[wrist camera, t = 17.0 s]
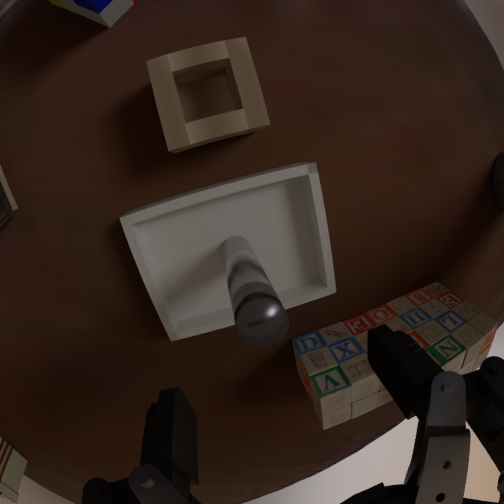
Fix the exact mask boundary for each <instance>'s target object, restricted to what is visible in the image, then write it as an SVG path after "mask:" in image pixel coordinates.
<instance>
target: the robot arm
mask: <svg viewBox="0 0 504 504" xmlns="http://www.w3.org/2000/svg"><path fill="white" fill-rule="evenodd" d="M493 190H494V196H495V200H496V202H497V205H498V206H499V207H500V208H502V209H504V152H502V153H500V155H499V156H498V158H497V160H496V163H495V167H494V174H493ZM367 358H368V362H369V365H370V367H371V368H372V370H373V371H374V373H375V374H376V375H377V377H378V378H379V380H380V381H381V382H382V384H383V385H384V387H385V388H386V390H387V391H388V392H389V394H390V395H391V397H392V398H393V399H394V401H395V402H396V404H397V405H398V407H399V408H400V410H401V411H402V412H403V414H404V415H405V417H406V418H407V420H409V419H410V418H412V417H414V416H417V418H418V419H419V422H418V427H417V434H416V439H415V444H414V449H413V454H412V459H411V463H410V465H409V468H408V471H407V474H406V477H405V481H404V484H400V485H390V486H384V484H383V482H382V483H380V484H378V485H375V486H373V487H371V488H369V489H367V490H365V491H362V492H360V493H357V494H355V495H353V496H351V497H350V498H348V499H347V500H345V501H344V502H342V503H340V504H504V360H503V359H502V358H500V357H497V356H492V357H488V358H486V359H485V360H484V361H483V362H482V364H481V366H480V369H479V370H475V371H472V372H469V373H466V374H463V375H460V374H458V373H457V372H453V371H444V370H443V369H442V368H441V367H440V366H439V365H438V364H437V363H436V362H435V361H434V360H433V359H432V358H431V357H430V356H429V355H428V353H427V352H426V351H425V350H424V349H422V347H421V346H420V345H419V344H418V343H416V341H415V340H414V339H413V338H412V337H411V336H410V335H409V334H407V333H404V332H402V331H400V330H397V331H395V332H393V331H392V330H391V329H390V328H389V327H388V326H387V325H386V324H382V325H379V326H377V327H375V328H372V329H370V330H368V333H367ZM466 421H467V423H468V424H469V426H470V427H471V429H472V430H473V431H474V433H475V434H476V436H477V437H478V439H479V440H480V442H481V443H482V445H483V446H484V448H485V449H486V451H487V452H488V454H489V455H490V457H491V459H492V460H493V462H494V463H495V465H496V467H497V468H498V470H499V471H500V473H501V474H500V476H499V480H498V486H497V489H498V491H499V492H500V499H499V502H498V503H495V502H488V501H481V500H474V499H468V498H463V496H464V490H465V484H466V478H467V470H468V462H469V452H470V430H469V429H466V423H465V422H466ZM145 424H146V425H145V429H144V432H145V433H144V436H143V444H142V452H141V461H140V465H139V466H138V467H136V468H135V469H133V470H132V472H131V473H130V475H129V477H128V478H125V479H122V480H118V481H115V482H111V483H109V482H108V481H106V480H105V479H103V478H93V479H90V480H89V481H88V482H87V483H86V484H85V486H84V488H83V495H82V504H201V503H200V502H199V501H198V500H197V499H196V498H195V497H194V496H193V495H192V494H191V493H190V485H199V479H198V458H197V425H196V416H195V412H194V410H193V408H192V406H191V405H190V403H189V402H188V400H187V399H186V397H185V396H184V394H183V392H182V391H181V389H180V388H179V387H174V388H169V389H163V390H160V393H159V400H158V403H152V405H151V407H150V408H149V410H148V412H147V415H146V422H145Z"/></svg>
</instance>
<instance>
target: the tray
mask: <svg viewBox="0 0 504 504" xmlns="http://www.w3.org/2000/svg"><path fill="white" fill-rule="evenodd" d="M120 221H121V224H122V227H123V230H124V233H125V235H126V238H127V241H128V244H129V246H130V249H131V251H132V254H133V257H134V259H135V262H136V264H137V267H138V269H139V272H140V274H141V277H142V279H143V281H144V284H145V286H146V288H147V291H148V293H149V295H150V297H151V300H152V302H153V304H154V306H155V309H156V311H157V313H158V315H159V317H160V319H161V321H162V324H163V326H164V328H165V330H166V332H167V334H168V336H169V338H170V340H171V341H174V340H178V339H183V338H187V337H191V336H195V335H198V334H202V333H206V332H210V331H214V330H217V329H221V328H225V327H228V326H232V325H235V321H234V316H233V311H232V305H231V300H230V295H229V290H228V285H227V280H226V274H225V269H224V263H223V258H222V252H221V248H222V245H223V243H224V241H225V240H226V239H228V238H229V237H231V236H242V237H244V238H246V239H247V240H248V241H249V243H250V245H251V247H252V249H253V250H254V252H255V254H256V256H257V258H258V260H259V262H260V264H261V266H262V267H263V269H264V271H265V273H266V275H267V277H268V279H269V281H270V282H271V284H272V286H273V288H274V290H275V292H276V294H277V296H278V298H279V299H280V301H281V303H282V305H283V307H284V309H288V308H291V307H295V306H298V305H301V304H304V303H307V302H310V301H313V300H316V299H319V298H321V297H324V296H327V295H330V294H333V293H336V286H335V277H334V269H333V261H332V254H331V246H330V240H329V233H328V226H327V220H326V214H325V208H324V203H323V197H322V191H321V186H320V181H319V176H318V171H317V166H316V162H301V163H296V164H292V165H287V166H283V167H279V168H275V169H270V170H266V171H262V172H258V173H254V174H250V175H246V176H242V177H239V178H235V179H231V180H227V181H224V182H220V183H217V184H213V185H210V186H206V187H203V188H199V189H196V190H193V191H189V192H186V193H183V194H180V195H176V196H173V197H170V198H167V199H164V200H161V201H158V202H155V203H152V204H149V205H146V206H143V207H140V208H137V209H134V210H131V211H129V212H127V213H126V214H124V215H123V216H122V217H120Z"/></svg>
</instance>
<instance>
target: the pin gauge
mask: <svg viewBox="0 0 504 504" xmlns="http://www.w3.org/2000/svg"><path fill="white" fill-rule="evenodd" d="M221 252H222V258H223V263H224V269H225V274H226V280H227V285H228V290H229V295H230V300H231V305H232V311H233V316H234V321H235V325H236V330H237V335H238V337H239V338H240V340H241V341H242V342H243V343H244V344H246V345H248V346H250V347H254V348H265V347H269V346H272V345H274V344H276V343H278V342H279V341H280V340H281V339H283V337H284V336H285V335H286V333H287V331H288V329H289V324H290V321H289V317H288V315H287V313H286V311H285V309H284V307H283V305H282V303H281V301H280V299H279V298H278V296H277V294H276V292H275V290H274V288H273V286H272V284H271V282H270V281H269V279H268V277H267V275H266V273H265V271H264V269H263V267H262V266H261V264H260V262H259V260H258V258H257V256H256V254H255V252H254V250H253V249H252V247H251V245H250V243H249V241H248V240H247V239H246V238H244V237H242V236H231V237H229V238H228V239H226V240H225V241H224V243H223V245H222V248H221Z"/></svg>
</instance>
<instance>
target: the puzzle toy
mask: <svg viewBox="0 0 504 504" xmlns="http://www.w3.org/2000/svg"><path fill="white" fill-rule="evenodd" d="M49 1H50V2H51V3H52V4H53V5H56V6H59V7H61V8H64V9H67V10H69V11H72V12H75V13H77V14H79V15H82V16H84V17H87V18H89V19H91V20H94V21H96V22H98V23H100V24H102V25H105V26H107V27H109V28H110V27H111V26H112V25H113V24H114V23H115V22H116V21H117V20H118V19H119V18H120V17H121V16H122V15H123V14H124V13H125V12H126V11H127V10H128V9H129V8H130V7H131V6H132V5H133V4H134V3H135V2H136V1H137V0H49Z"/></svg>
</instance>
